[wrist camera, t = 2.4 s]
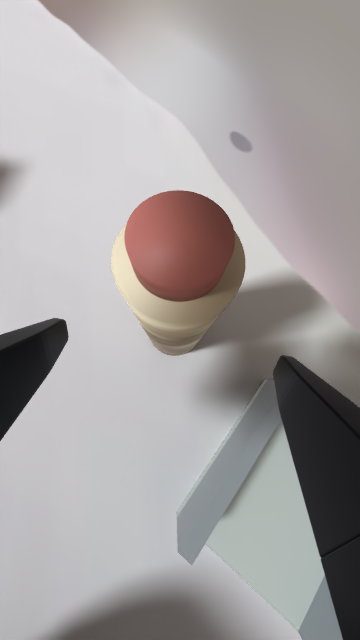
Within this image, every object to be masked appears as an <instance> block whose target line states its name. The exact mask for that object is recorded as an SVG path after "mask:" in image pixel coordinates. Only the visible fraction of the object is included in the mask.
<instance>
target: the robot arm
mask: <svg viewBox="0 0 360 640" xmlns="http://www.w3.org/2000/svg"><path fill="white" fill-rule="evenodd" d="M67 341H68V331H67V325H66V321H65V320H63V319H58V318H53V319H49V320H46V321H43V322H40V323H37V324H33V325H30V326H27V327H24V328H21V329H18V330H14V331H11V332H8V333H5V334H2V335H0V441H1V440H2V438H3V437H4V435H5V434H6V433H7V431H8V430H9V428H10V427H11V426H12V424H13V423H14V421H15V420H16V419H17V417H18V416H19V414H20V413H21V412H22V410H23V409H24V407H25V406H26V405H27V403H28V402H29V400H30V399H31V398H32V396H33V395H34V394H35V392H36V391H37V389H38V388H39V387H40V385H41V384H42V382H43V381H44V380H45V378H46V377H47V375H48V374H49V372H50V371H51V369H52V368H53V366H54V364H55V362H56V361H57V359H58V357H59V355H60V353H61V352H62V350H63V348H64V346H65V345H66V343H67ZM273 377H274V383H275V389H276V396H277V402H278V407H279V412H280V416H281V419H282V423H283V426H284V430H285V433H286V437H287V441H288V444H289V448H290V451H291V455H292V459H293V462H294V466H295V469H296V473H297V476H298V480H299V484H300V487H301V491H302V494H303V498H304V502H305V505H306V509H307V512H308V516H309V519H310V523H311V527H312V530H313V534H314V537H315V541H316V545H317V548H318V552H319V555H320V557H321V563H322V567H323V570H324V574H325V578H326V581H327V585H328V588H329V592H330V595H331V599H332V603H333V606H334V610H335V613H336V617H337V620H338V624H339V628H340V631H341V635H342V638H343V640H360V408H359V407H358V406H357V405H355V404H354V403H353V402H351V401H350V400H349V399H347V398H346V397H345V396H343V395H342V394H341V393H339V392H338V391H337V390H336V389H334V388H333V387H332V386H330V385H329V384H328V383H326V382H325V381H324V380H322V379H321V378H320V377H318V376H317V375H316V374H314V373H313V372H312V371H311V370H309V369H308V368H307V367H305V366H304V365H303V364H301V363H300V362H299V361H297V360H296V359H295V358H293V357H291V356H285V355H283V356H281V357H280V358H279V360H278V362H277V364H276V366H275V369H274V371H273Z"/></svg>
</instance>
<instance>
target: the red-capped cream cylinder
mask: <svg viewBox="0 0 360 640" xmlns="http://www.w3.org/2000/svg"><path fill="white" fill-rule="evenodd" d="M111 266H112V273H113V277H114V280H115V282H116V285H117V287H118V289H119V290H120V292H121V294H122V295H123V297H124V298H125V300H126V302H127V303H128V305H129V306H130V308H131V309H132V311H133V313H134V314H135V316H136V317H137V319H138V321H139V322H140V324H141V325H142V327H143V329H144V330H145V332H146V333H147V335H148V336H149V338H150V340H151V341H152V343H153V344H154V346H155V347H156V348H157V349H158V350H159V351H161V352H163V353H165V354H167V355H174V356H176V355H182V354H185V353H187V352H189V351H190V350H192V349H193V348H194V347H195V346H196V344H197V343H198V342H199V340H200V339H201V338H202V337H203V335H204V334H205V333H206V332H207V330H208V329H209V328H210V327H211V325H212V324H213V323H214V322H215V320H216V319H217V318H218V317H219V315H220V314H221V313H222V312H223V310H224V309H225V308H226V306H227V305H228V304H229V303H230V301H231V300H232V299H233V298H234V296H235V295H236V293H237V292H238V290H239V288H240V286H241V284H242V281H243V277H244V272H245V255H244V250H243V246H242V244H241V241H240V239H239V237H238V235H237V234H236V232H235V231H234V229H233V225H232V223H231V221H230V219H229V217H228V215H227V214H226V213H225V211H224V210H223V209H222V208H221V207H220V206H219V205H218V204H216V203H215V202H214V201H212V200H211V199H209V198H207V197H205V196H203V195H201V194H197V193H194V192H189V191H167V192H163V193H159V194H157V195H154V196H152V197H150V198H148V199H147V200H145V201H143V202H142V203H141V204H140V205H139V206H138V207H137V208H136V209H135V210H134V211H133V213H132V214H131V216H130V218H129V220H128V222H127V224H126V225H125V226H124V227H123V228H122V230H121V231H120V233H119V234H118V236H117V238H116V240H115V243H114V246H113V250H112V256H111Z"/></svg>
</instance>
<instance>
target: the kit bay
mask: <svg viewBox="0 0 360 640" xmlns="http://www.w3.org/2000/svg"><path fill="white" fill-rule="evenodd" d="M177 538H178V553H179V554H180V555H182V556H183V557H184V558H185V559H186V560H187V561H188V562H189V563H190V564H191V565H192V564H193V563H194V561H195V559H196V558H197V556H198V555H199V553H200V551H201V550H202V548H203V546H204V545H205V544H206V545H207V546H208V547H209V548H210V549H211V550H212V551H213V552H214V553H215V554H216V555H217V556H218V557H220V558H221V559H222V560H223V561H224V562H225V563H226V564H227V565H228V566H229V567H230V568H231V569H232V570H233V571H234V572H236V573H237V574H238V575H239V576H240V577H241V578H242V579H243V580H244V581H245V582H246V583H247V584H248V585H249V586H250V587H252V588H253V589H254V590H255V591H256V592H257V593H258V594H259V595H260V596H261V597H262V598H263V599H264V600H265V601H266V602H268V603H269V604H270V605H271V606H272V607H273V608H274V609H275V610H276V611H277V612H278V613H279V614H280V615H281V616H282V617H284V618H285V619H286V620H287V621H288V622H289V623H290V624H291V625H292V626H293V627H294V628H295V629H296V630H297V631H298V632H299V634H300V636H301V638H302V640H343V638H342V635H341V631H340V628H339V624H338V620H337V617H336V613H335V610H334V606H333V603H332V599H331V595H330V592H329V588H328V585H327V581H326V578H325V574H324V570H323V567H322V563H321V557H320V555H319V552H318V548H317V545H316V541H315V537H314V534H313V530H312V527H311V523H310V519H309V516H308V512H307V509H306V505H305V502H304V498H303V494H302V491H301V487H300V484H299V480H298V476H297V473H296V469H295V466H294V462H293V459H292V455H291V451H290V448H289V444H288V441H287V437H286V433H285V430H284V426H283V423H282V419H281V416H280V412H279V407H278V402H277V396H276V389H275V383H274V379H265V380H264V381H263V383H262V384H261V386H260V387H259V389H258V390H257V392H256V393H255V395H254V396H253V398H252V399H251V401H250V402H249V404H248V405H247V407H246V408H245V410H244V411H243V413H242V414H241V416H240V417H239V419H238V420H237V422H236V423H235V425H234V426H233V428H232V429H231V431H230V432H229V434H228V435H227V437H226V438H225V440H224V441H223V443H222V444H221V446H220V448H219V449H218V451H217V452H216V454H215V455H214V457H213V458H212V460H211V461H210V463H209V464H208V466H207V467H206V469H205V470H204V472H203V473H202V475H201V476H200V478H199V479H198V481H197V482H196V484H195V485H194V487H193V488H192V490H191V491H190V493H189V494H188V496H187V497H186V499H185V500H184V502H183V503H182V505H181V506H180V508H179V509H178V511H177Z"/></svg>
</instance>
